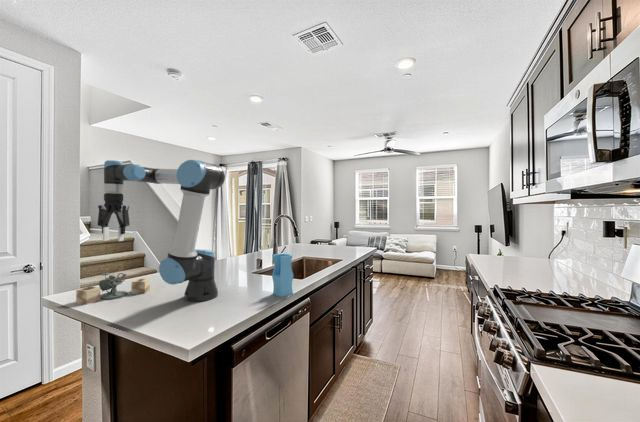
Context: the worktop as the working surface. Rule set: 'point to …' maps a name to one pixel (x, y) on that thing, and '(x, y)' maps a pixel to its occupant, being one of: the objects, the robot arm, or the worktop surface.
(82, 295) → the marked cube
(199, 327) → the worktop surface
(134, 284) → the marked cube
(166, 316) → the worktop surface
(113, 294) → the figurine
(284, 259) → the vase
